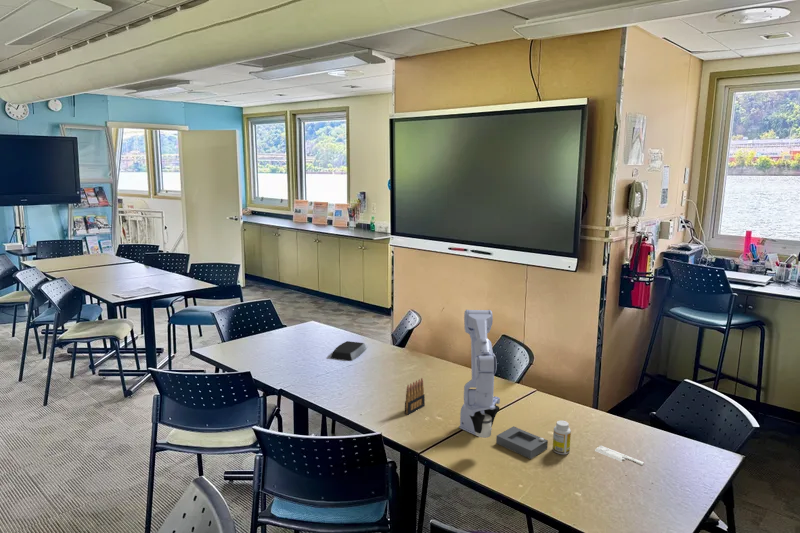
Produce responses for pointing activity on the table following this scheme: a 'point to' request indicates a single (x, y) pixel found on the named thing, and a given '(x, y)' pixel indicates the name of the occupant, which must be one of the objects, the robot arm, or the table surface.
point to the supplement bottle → (561, 437)
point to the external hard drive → (349, 350)
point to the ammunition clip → (414, 397)
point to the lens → (485, 427)
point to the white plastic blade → (615, 454)
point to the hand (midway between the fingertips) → (483, 429)
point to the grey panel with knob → (522, 442)
